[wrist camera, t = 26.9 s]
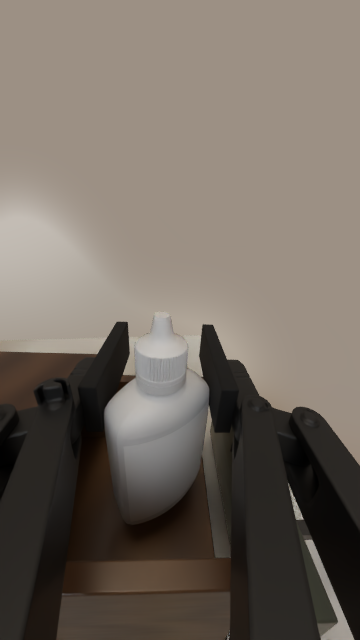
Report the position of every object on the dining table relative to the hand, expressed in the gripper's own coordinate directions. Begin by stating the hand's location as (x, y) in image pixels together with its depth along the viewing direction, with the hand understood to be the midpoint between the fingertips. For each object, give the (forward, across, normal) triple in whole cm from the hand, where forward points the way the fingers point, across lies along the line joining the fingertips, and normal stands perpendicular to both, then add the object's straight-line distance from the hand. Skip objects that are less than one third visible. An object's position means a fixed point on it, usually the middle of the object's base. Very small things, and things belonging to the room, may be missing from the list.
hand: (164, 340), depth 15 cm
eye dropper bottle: (-5, 0, -8) cm, 10 cm away
